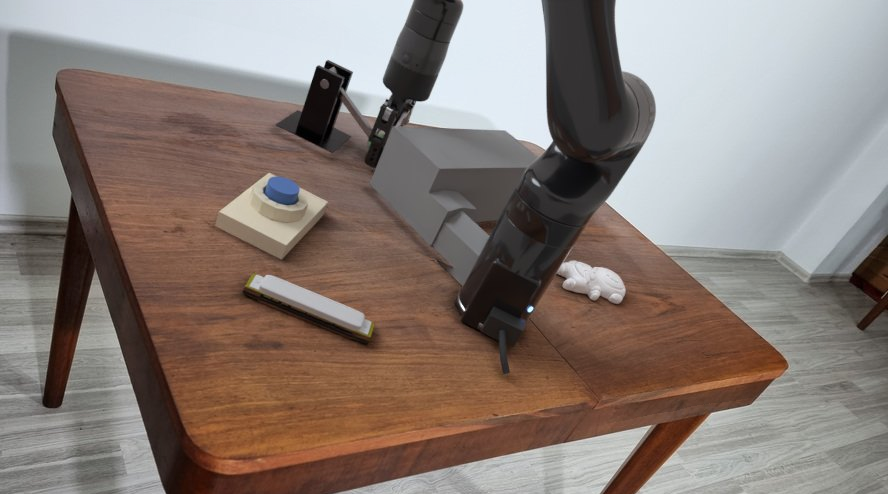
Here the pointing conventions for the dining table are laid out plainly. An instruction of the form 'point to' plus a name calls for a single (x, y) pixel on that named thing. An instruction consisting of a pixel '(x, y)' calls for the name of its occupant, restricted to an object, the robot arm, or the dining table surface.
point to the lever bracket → (321, 109)
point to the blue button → (282, 190)
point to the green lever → (355, 111)
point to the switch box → (270, 218)
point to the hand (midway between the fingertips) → (378, 156)
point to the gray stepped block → (450, 185)
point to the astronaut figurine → (592, 281)
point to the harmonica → (309, 306)
